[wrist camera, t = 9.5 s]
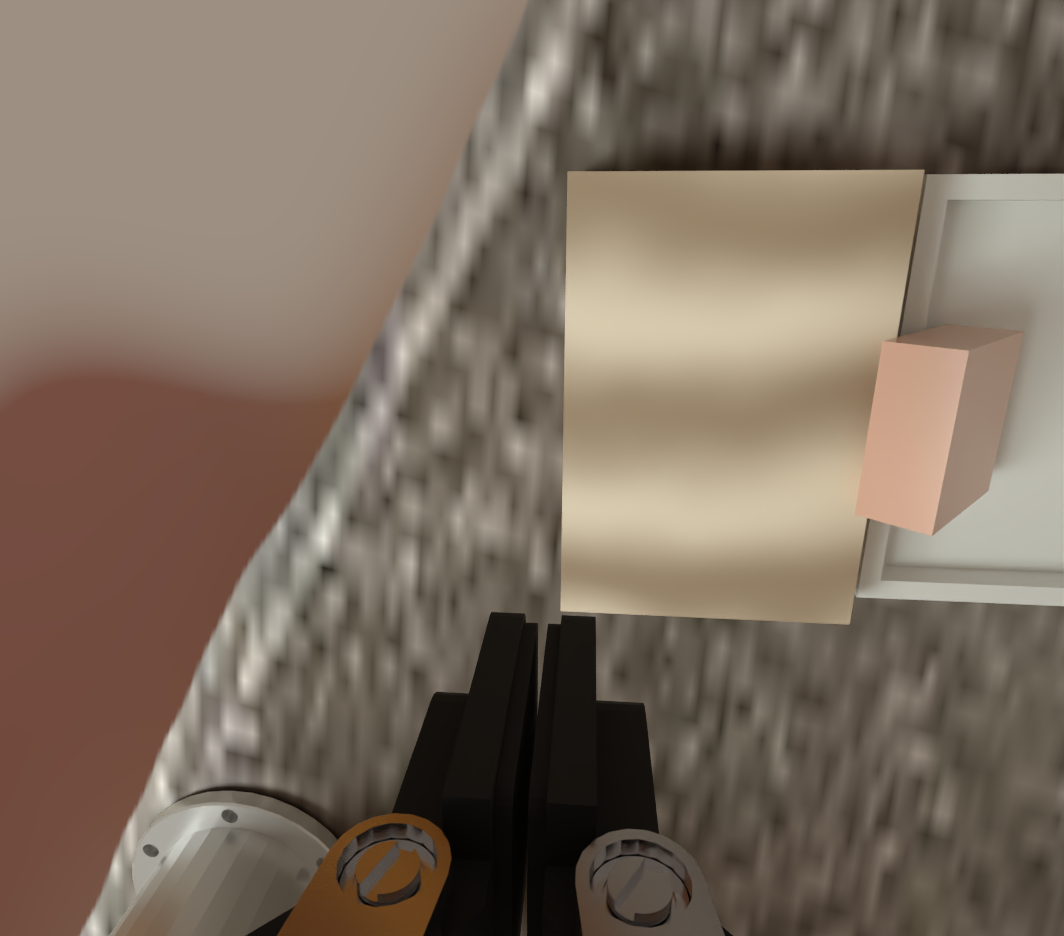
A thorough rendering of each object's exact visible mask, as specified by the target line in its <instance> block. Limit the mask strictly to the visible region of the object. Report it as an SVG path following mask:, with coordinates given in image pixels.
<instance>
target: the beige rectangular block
mask: <svg viewBox="0 0 1064 936" xmlns="http://www.w3.org/2000/svg"><path fill="white" fill-rule="evenodd" d="M924 171H925V170H769V171H568V180H567V243H566V305H565V367H564V429H563V492H562V554H561V611H569V612H591V613H612V614H634V615H655V616H677V617H699V618H720V619H742V620H763V621H785V622H807V623H828V624H850V619H851V613H852V607H853V601H854V595H855V589H856V583H857V577H858V570H859V564H860V558H861V552H862V546H863V540H864V534H865V528H866V522H867V518H865V517H862V516H858V515H855V510H856V504H857V497H858V491H859V485H860V479H861V472H862V466H863V460H864V454H865V447H866V441H867V435H868V429H869V422H870V416H871V410H872V404H873V397H874V391H875V385H876V379H877V372H878V366H879V360H880V354H881V347H882V341H885V340H889V339H893V338H896V337H897V334H898V328H899V322H900V316H901V310H902V304H903V298H904V292H905V286H906V280H907V274H908V268H909V262H910V256H911V249H912V243H913V237H914V231H915V225H916V219H917V213H918V207H919V201H920V195H921V189H922V183H923V177H924Z"/></svg>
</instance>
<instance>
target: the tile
mask: <svg viewBox="0 0 1064 936" xmlns="http://www.w3.org/2000/svg"><path fill="white" fill-rule="evenodd" d="M1023 334H1024V331H1015V330H1004V329H993V328H982V327H971V326H960V325H948V324H946V325H942V326H938V327H935V328H931V329H927V330H923V331H919V332H915V333H912V334H908V335H904V336H900V337H896V338H893V339H889V340H885V341H882V347H881V354H880V360H879V366H878V372H877V379H876V385H875V391H874V397H873V404H872V410H871V416H870V422H869V429H868V435H867V441H866V447H865V454H864V460H863V466H862V472H861V479H860V485H859V491H858V497H857V504H856V510H855V515H858V516H862V517H865V518H869V519H872V520H876V521H880V522H883V523H887V524H890V525H894V526H897V527H901V528H905V529H908V530H912V531H915V532H919V533H923V534H926V535H930V536H933V535H934V534H935V533H937V532H938V531H939V530H940V529H942V528H943V527H944V526H945V525H947V524H948V523H949V522H950V521H952V520H953V519H954V518H955V517H957V516H958V515H959V514H960V513H962V512H963V511H964V510H965V509H967V508H968V507H969V506H970V505H972V504H973V503H974V502H975V501H977V500H978V499H979V498H980V497H982V496H983V495H984V494H985V493H987V492H988V491H989V486H990V482H991V477H992V473H993V468H994V464H995V459H996V455H997V450H998V446H999V441H1000V437H1001V432H1002V428H1003V423H1004V419H1005V414H1006V410H1007V405H1008V401H1009V396H1010V392H1011V387H1012V383H1013V378H1014V374H1015V369H1016V365H1017V360H1018V356H1019V352H1020V347H1021V343H1022V338H1023Z"/></svg>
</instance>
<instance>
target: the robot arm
mask: <svg viewBox="0 0 1064 936" xmlns="http://www.w3.org/2000/svg"><path fill="white" fill-rule="evenodd" d="M537 695H538V623H526V618H525V614H521V613H499V612H491V614H490V617H489V621H488V625H487V628H486V632H485V636H484V639H483V643H482V647H481V651H480V654H479V658H478V662H477V665H476V669H475V673H474V677H473V680H472V684H471V688H470V691H469V694H465V693H446V692H436V693H435V694H434V695H433V697H432V700H431V702H430V705H429V708H428V711H427V714H426V717H425V719H424V722H423V725H422V728H421V731H420V734H419V737H418V740H417V743H416V745H415V748H414V751H413V754H412V757H411V760H410V763H409V766H408V769H407V771H406V774H405V777H404V780H403V783H402V786H401V789H400V792H399V795H398V797H397V800H396V803H395V806H394V809H393V812H392V814H387V815H381V816H375V817H373V818H370V819H368V820H366V821H363V822H361V823H359V824H357V825H355V826H354V827H353V828H351V829H350V830H348V831H347V832H346V833H344V834H343V835H342V836H341V837H340V838H339V839H338V840H337V839H336V838H335V836H334V835H333V834H332V833H331V832H330V831H329V830H327V829H326V828H325V827H324V826H323V825H321V824H320V823H319V822H318V821H317V820H315V819H314V818H312V817H311V816H309V815H307V814H306V813H304V812H302V811H301V810H299V809H298V808H296V807H294V806H291V805H289V804H286V803H284V802H282V801H279V800H277V799H274V798H271V797H267V796H263V795H259V794H255V793H249V792H240V791H212V792H205V793H201V794H197V795H192V796H189V797H187V798H185V799H182V800H180V801H178V802H176V803H173V804H172V805H171V806H169V807H168V808H167V809H165V810H164V811H163V812H161V813H160V814H159V815H158V816H157V818H156V819H155V820H154V821H153V823H152V824H151V825H150V826H149V828H148V829H147V830H146V831H145V833H144V834H143V836H142V837H141V839H140V840H139V842H138V844H137V846H136V850H135V854H134V857H133V861H132V878H133V883H134V887H135V891H136V895H137V896H136V898H135V899H134V900H133V902H132V903H131V905H130V906H129V908H128V909H127V911H126V912H125V914H124V915H123V916H122V918H121V919H120V921H119V922H118V924H117V925H116V927H115V928H114V929H113V931H112V932H111V934H110V935H109V936H520V932H521V923H522V913H523V903H524V894H525V884H526V874H527V936H733V935H731V934H730V933H729V932H728V931H727V930H725V929H724V928H723V927H722V926H721V923H720V920H719V918H718V915H717V912H716V909H715V906H714V903H713V900H712V897H711V895H710V892H709V889H708V886H707V883H706V880H705V877H704V875H703V873H702V872H701V870H700V868H699V866H698V864H697V862H696V860H695V859H694V858H693V857H692V856H691V855H690V854H689V853H688V852H687V851H686V850H685V849H684V848H683V847H682V846H680V845H679V844H677V843H676V842H674V841H672V840H671V839H669V838H667V837H666V836H663V835H660V834H659V830H658V821H657V812H656V803H655V794H654V785H653V776H652V767H651V758H650V749H649V740H648V731H647V722H646V713H645V706H644V704H643V703H632V702H614V701H596V618H595V617H588V616H566V615H562V619H561V624H548V629H547V638H546V647H545V655H544V664H543V673H542V682H541V690H540V699H539V708H538V717H537Z"/></svg>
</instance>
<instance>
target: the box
mask: <svg viewBox="0 0 1064 936" xmlns="http://www.w3.org/2000/svg"><path fill="white" fill-rule="evenodd" d="M946 324H948V325H960V326H971V327H982V328H993V329H1004V330H1015V331H1024V334H1023V338H1022V343H1021V347H1020V352H1019V356H1018V360H1017V365H1016V369H1015V374H1014V378H1013V383H1012V387H1011V392H1010V396H1009V401H1008V405H1007V410H1006V414H1005V419H1004V423H1003V428H1002V432H1001V437H1000V441H999V446H998V450H997V455H996V459H995V464H994V468H993V473H992V477H991V482H990V486H989V491H988V492H987V493H985V494H984V495H983V496H982V497H980V498H979V499H978V500H977V501H975V502H974V503H973V504H972V505H970V506H969V507H968V508H967V509H965V510H964V511H963V512H962V513H960V514H959V515H958V516H957V517H955V518H954V519H953V520H952V521H950V522H949V523H948V524H947V525H945V526H944V527H943V528H942V529H940V530H939V531H938V532H937V533H935V534H934V535H933V536H930V535H926V534H923V533H919V532H915V531H912V530H908V529H905V528H901V527H897V526H894V525H890V524H887V523H883V522H880V521H876V520H872V519H869V518H867V522H866V528H865V534H864V540H863V546H862V552H861V558H860V564H859V570H858V577H857V583H856V589H855V595H856V596H857V597H863V598H887V599H910V600H933V601H956V602H979V603H1002V604H1026V605H1049V606H1064V174H926V175H924V177H923V183H922V189H921V195H920V201H919V207H918V213H917V219H916V225H915V231H914V237H913V243H912V249H911V256H910V262H909V268H908V274H907V280H906V286H905V292H904V298H903V304H902V310H901V316H900V322H899V328H898V334H897V337H900V336H904V335H908V334H912V333H915V332H919V331H923V330H927V329H931V328H935V327H938V326H942V325H946Z"/></svg>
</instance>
